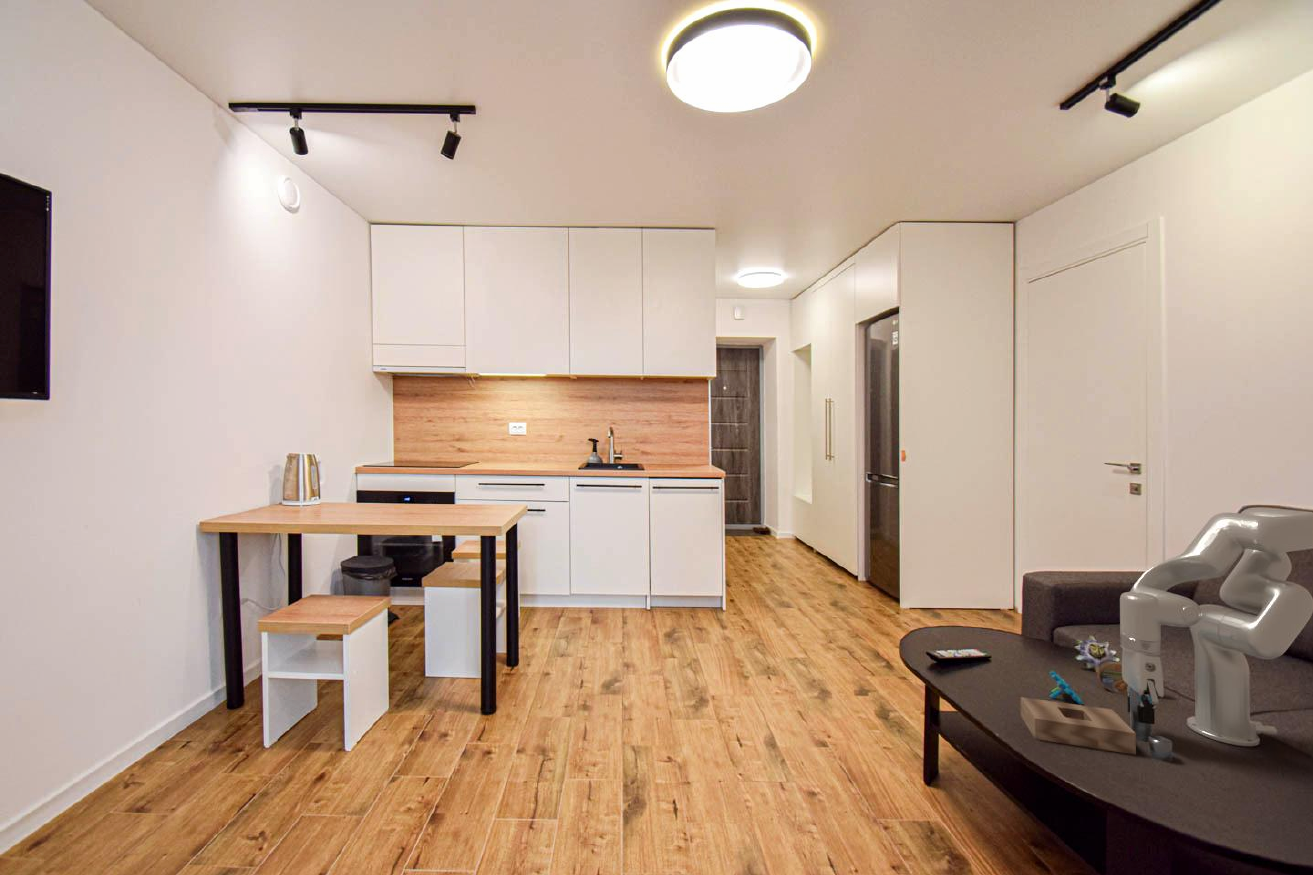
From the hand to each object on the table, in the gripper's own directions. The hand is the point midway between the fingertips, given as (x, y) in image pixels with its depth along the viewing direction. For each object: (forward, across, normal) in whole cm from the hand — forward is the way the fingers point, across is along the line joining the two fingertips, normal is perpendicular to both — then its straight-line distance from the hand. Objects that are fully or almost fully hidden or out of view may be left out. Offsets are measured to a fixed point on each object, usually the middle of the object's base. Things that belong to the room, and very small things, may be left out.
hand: (1140, 717), depth 135 cm
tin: (+5, +29, -9) cm, 31 cm away
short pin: (+5, -9, 0) cm, 10 cm away
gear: (+5, +17, +10) cm, 21 cm away
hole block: (+5, -4, +15) cm, 16 cm away
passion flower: (+5, +47, -7) cm, 48 cm away
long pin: (+5, 0, 0) cm, 5 cm away
